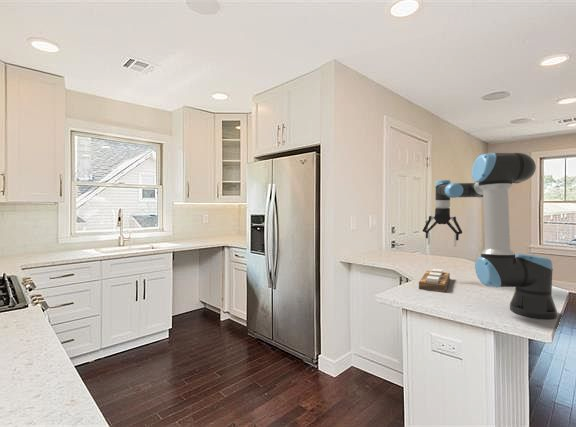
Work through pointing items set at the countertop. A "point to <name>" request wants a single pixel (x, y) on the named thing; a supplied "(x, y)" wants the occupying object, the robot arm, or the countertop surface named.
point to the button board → (434, 286)
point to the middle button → (435, 274)
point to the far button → (437, 271)
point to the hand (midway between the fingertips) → (441, 245)
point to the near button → (433, 279)
